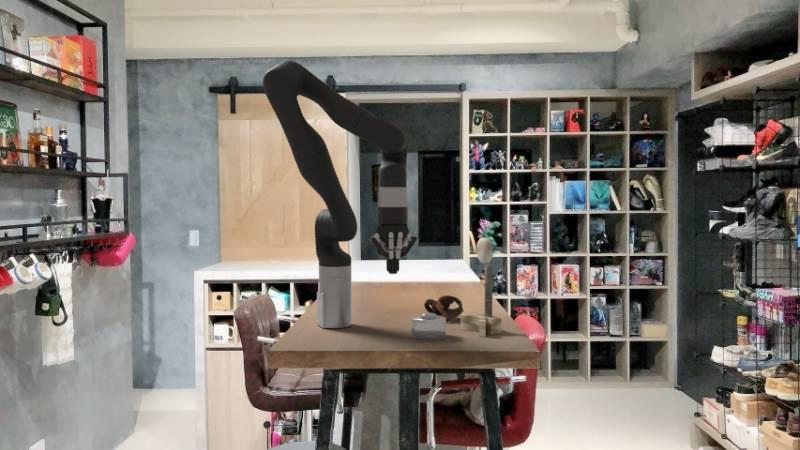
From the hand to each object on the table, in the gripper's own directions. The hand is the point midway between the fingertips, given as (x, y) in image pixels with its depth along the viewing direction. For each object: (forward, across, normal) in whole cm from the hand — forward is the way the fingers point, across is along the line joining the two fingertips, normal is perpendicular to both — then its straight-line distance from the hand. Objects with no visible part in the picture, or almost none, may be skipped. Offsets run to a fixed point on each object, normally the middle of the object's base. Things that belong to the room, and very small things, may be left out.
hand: (392, 273), depth 163 cm
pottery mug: (+17, +25, +20) cm, 36 cm away
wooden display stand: (+17, +26, 0) cm, 31 cm away
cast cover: (+17, +10, 0) cm, 20 cm away
